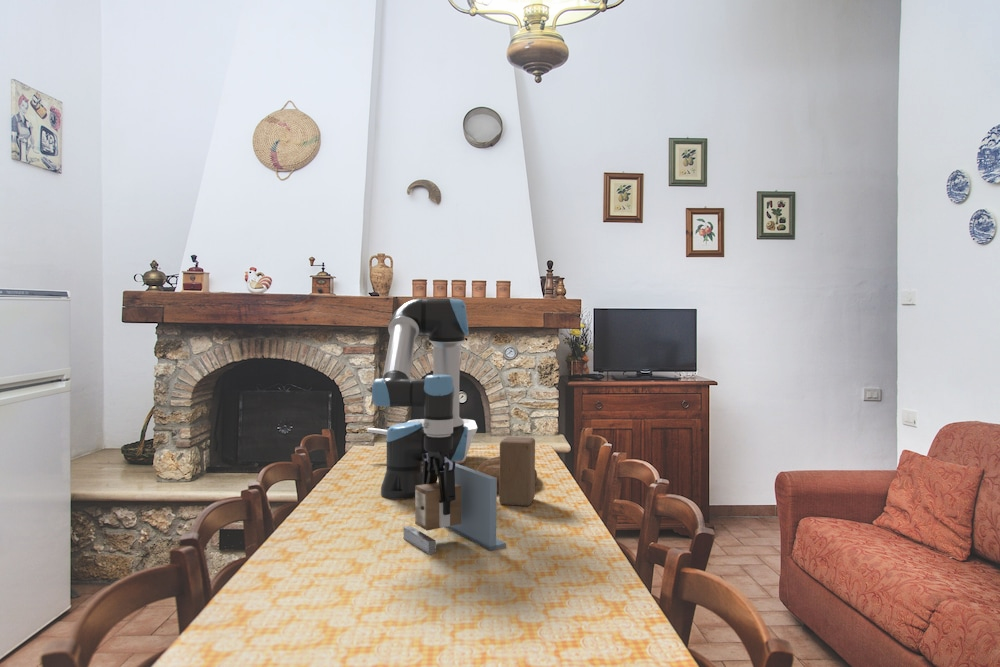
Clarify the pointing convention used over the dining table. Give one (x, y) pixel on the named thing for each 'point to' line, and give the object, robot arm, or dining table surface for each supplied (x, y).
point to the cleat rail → (420, 540)
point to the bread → (493, 469)
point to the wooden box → (434, 506)
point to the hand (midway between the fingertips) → (437, 522)
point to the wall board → (477, 507)
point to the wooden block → (517, 471)
